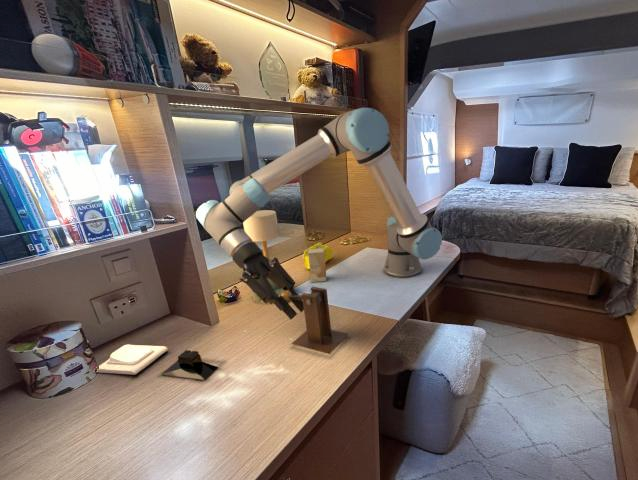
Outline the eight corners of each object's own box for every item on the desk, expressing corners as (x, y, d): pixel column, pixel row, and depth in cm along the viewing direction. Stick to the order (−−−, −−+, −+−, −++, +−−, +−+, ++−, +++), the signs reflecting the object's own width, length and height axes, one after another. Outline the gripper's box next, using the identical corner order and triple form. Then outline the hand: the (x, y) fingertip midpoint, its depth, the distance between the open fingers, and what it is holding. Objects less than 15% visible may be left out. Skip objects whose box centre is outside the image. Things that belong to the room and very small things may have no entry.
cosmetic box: (311, 282, 133) (307, 253, 128) (311, 278, 137) (307, 249, 132) (327, 280, 134) (324, 251, 129) (327, 276, 138) (323, 248, 133)
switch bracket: (292, 348, 92) (283, 295, 86) (313, 329, 100) (306, 281, 94) (329, 357, 87) (323, 303, 81) (348, 338, 96) (344, 287, 89)
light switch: (126, 337, 94) (164, 338, 92) (131, 349, 96) (169, 351, 93) (88, 360, 85) (129, 363, 82) (95, 374, 86) (136, 377, 83)
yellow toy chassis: (322, 257, 160) (320, 240, 157) (333, 259, 158) (331, 241, 155) (304, 270, 146) (301, 251, 143) (315, 271, 144) (313, 252, 141)
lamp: (271, 285, 133) (257, 208, 121) (300, 290, 127) (289, 210, 115) (245, 300, 121) (226, 217, 109) (275, 306, 116) (260, 219, 104)
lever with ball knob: (277, 306, 93) (274, 293, 92) (286, 300, 96) (283, 288, 95) (317, 307, 87) (313, 294, 85) (325, 301, 90) (321, 288, 89)
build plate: (222, 363, 87) (219, 348, 86) (204, 382, 81) (199, 366, 79) (181, 358, 90) (177, 343, 88) (160, 376, 83) (154, 360, 82)
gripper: (258, 248, 102) (310, 306, 102) (212, 268, 88) (272, 334, 88) (269, 233, 98) (323, 293, 98) (223, 250, 84) (285, 320, 84)
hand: (299, 312), depth 93 cm, fingers closed on lever with ball knob, 4 cm apart
